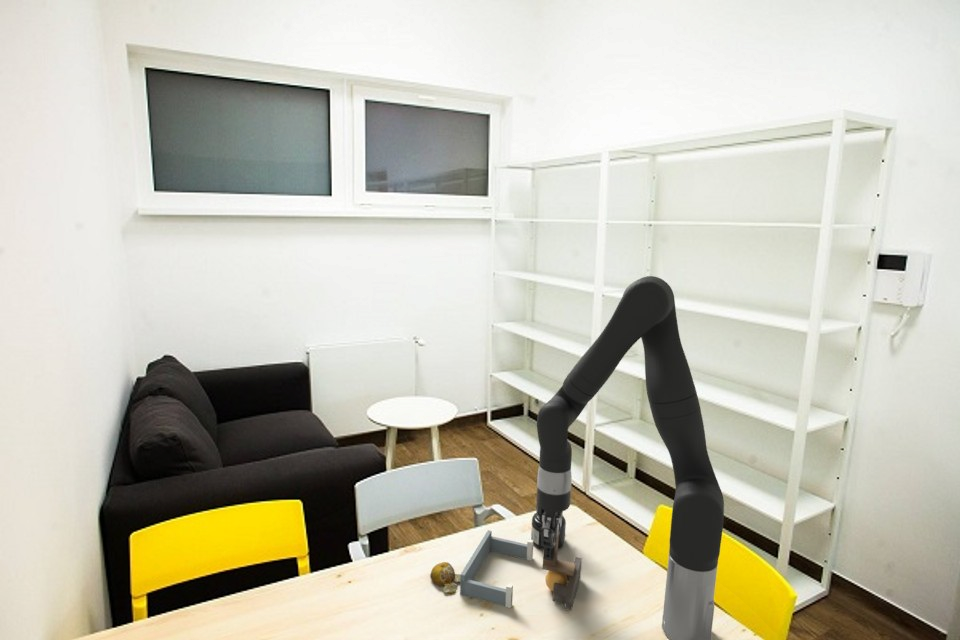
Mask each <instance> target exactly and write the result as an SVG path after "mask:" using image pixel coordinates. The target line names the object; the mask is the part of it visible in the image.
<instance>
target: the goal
mask: <svg viewBox="0 0 960 640" xmlns="http://www.w3.org/2000/svg"><path fill="white" fill-rule="evenodd" d="M490 552H494V553H497V554H502V555H507V556H509V557H514V558H519V559H524V560H526V561H530V562H531V561H532V560H533V556H534V555H533V554H534V553H533V552H534V544H533V540H531V538H530V539H529V538H528V540H527V543H523V542H519V541H516V540H515V541H513V540H510V539H506V538H500V537H497V536H493V535H492V530H490V529H489V530H486V532H485V535H484V536H483V538H482V539H481V540H480V542H479V544H478V545H477V547H476V548H475V550H474V552H473V553H472V556H471V557H470V559H469V560H468V562H467V563H466V565H465V567H464V568H463V570H462V571H461V573H459V574H460V582H459V583H460V584H459V585H460V587H459V594H460V595H461V596H465V597H469V598H473V599H475V600H476V599H477V600H480V601H484V602H488V603H491V604H496V605H498V606H503V607H504V608H505V607H506V608H508V609H511V608H512V606H513V592H514V584H513V583H508V582H507V584H506V586H505V588H503V587H499V586H496V585H492V584H487V583H484V582H481V581H477V580H476V581H475V580H474V579H475V577H476V575H477V574H478V572H479V570H480V568H481V567H482V565H483V563H484V562H485V560H486V558H487V556H488V554H489V553H490Z"/></svg>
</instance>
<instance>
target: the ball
mask: <svg viewBox="0 0 960 640" xmlns="http://www.w3.org/2000/svg"><path fill="white" fill-rule="evenodd" d="M547 571H548V570H547ZM554 583H559V584H563V585H567V583H568V581H567V576H566V575H565V574H560V573H556V572H552V571H548V572H547V573H546V574H545V584H546V587H547V588H548V589H549V590H550V591H551V592H553V587H554Z"/></svg>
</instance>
